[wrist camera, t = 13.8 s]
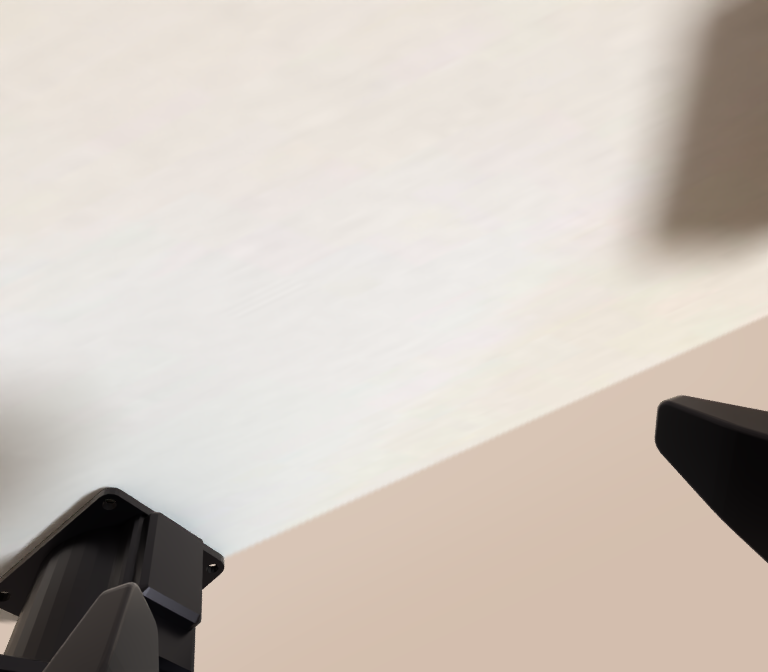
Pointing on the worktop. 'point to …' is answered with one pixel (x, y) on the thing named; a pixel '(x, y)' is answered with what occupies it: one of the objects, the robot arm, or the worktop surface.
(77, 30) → the worktop surface
